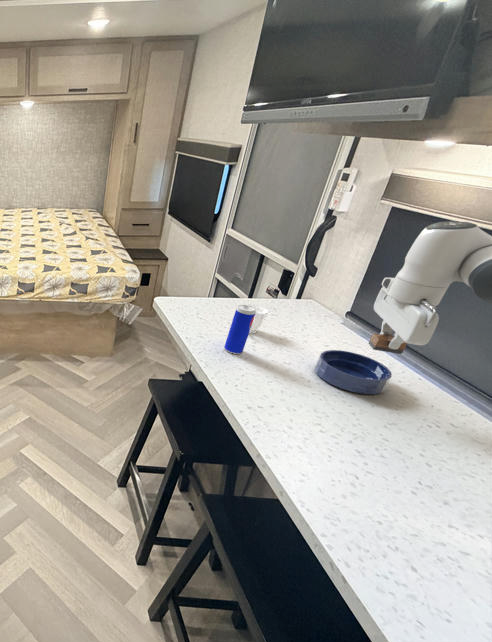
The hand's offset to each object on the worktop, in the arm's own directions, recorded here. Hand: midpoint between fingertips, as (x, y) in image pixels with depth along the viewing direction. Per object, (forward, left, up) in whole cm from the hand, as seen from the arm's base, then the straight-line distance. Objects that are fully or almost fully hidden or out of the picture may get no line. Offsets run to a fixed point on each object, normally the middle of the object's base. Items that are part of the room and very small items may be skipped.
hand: (387, 343), depth 99 cm
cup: (+23, -27, -16) cm, 39 cm away
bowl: (+1, -6, -15) cm, 17 cm away
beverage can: (+29, -11, -16) cm, 35 cm away
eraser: (0, 0, -2) cm, 2 cm away
